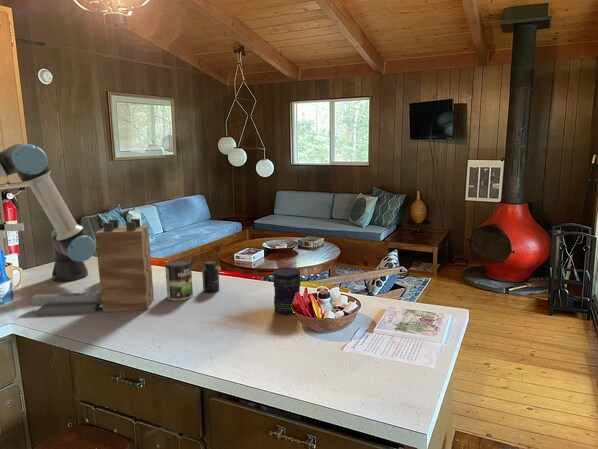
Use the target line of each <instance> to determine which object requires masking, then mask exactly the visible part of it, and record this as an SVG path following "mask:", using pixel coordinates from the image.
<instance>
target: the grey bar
mask: <svg viewBox="0 0 598 449" xmlns="http://www.w3.org/2000/svg"><path fill="white" fill-rule="evenodd" d="M30 298H31V299H30V300H31V306H32V307H33V308H34V307H42V306H63V305H89V304H98V305H101V306H102V298H101V289H99V290H98V291H97V292H96V291H95V292H75V293H74V292H71V293H69V292H67V293H50V294H49V293H45V294H44V293H43V294H41V293H40V294H34V295H33V296H32V297H30Z"/></svg>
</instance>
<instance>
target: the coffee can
mask: <svg viewBox="0 0 598 449" xmlns="http://www.w3.org/2000/svg"><path fill="white" fill-rule="evenodd" d="M164 267H165V282H166V284H165V285H166V294H167V295H166V298H167V299H168V300H171V301H184V300H185V301H186V300H188V299H190V298H192V297H193V296H194V293H193V278H192V277H193V275H192V274H193V273H192V261H191V260H189V259H188V260H187V259H173V260H169V261H167V262H165V263H164Z"/></svg>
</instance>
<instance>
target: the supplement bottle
mask: <svg viewBox="0 0 598 449" xmlns="http://www.w3.org/2000/svg"><path fill="white" fill-rule="evenodd" d="M201 275H202V277H201V278H202V290H203V292H205V293H216V292H218V291H220V270H219V269H218V268H217V262H216V261H212V260H211V261H210V260H209V261H206V262H204V268H203V269H202V274H201Z"/></svg>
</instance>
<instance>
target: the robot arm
mask: <svg viewBox="0 0 598 449" xmlns="http://www.w3.org/2000/svg"><path fill="white" fill-rule="evenodd" d="M51 172H52V170H51V167H50V166H49V164H48V158H47V154H46V152H44V150H43V149H41V148H40V147H39V146H37V145H34V144H31V143H23V144H21V143H20V144H19V143H18V144H13V145H11V146H9V147H8V148H5V149H4V150H2V151H0V177H4V178H6V177H8V176H12V175H14V174H17V176H18V177H19V179H20V182H22V183H23V184H26V185H28V186H29V188H30V190H31V191H32V193H33V195H34V196H35V198H36V200H37V201H38V203H39V206H41V208H42V209H43V211H44V213H45V215H46V217H47V218H48V220H49V221H50V223H51V226H52V227H53V228H54V230H53V231H51V241H52V249H53V257H54V258H53V259H54V264H53V268H52V271H51V278H52V281H55V282H68V281H69V282H70V281H75V280H79V279H83V278H86V277H88V275H89V272H88V267H87V266H86V264H85V262H86V261H87V260H90V259H91V258H92V257H93V255H94V254H95V252H96V250H97V247H96V241H95V240H94V239H93V237H91V236H89V235H88V234H87V232H86V230H85V228H84V226H83V225H81V224H78V223H77V222H76V220H75V218H74V217H73V214H72V213H71V210H70V209H69V207H68V206H67V204H66V203H65V201H64V199H63V197H62V195H61V193H60V192H59V190H58V187H57V186H56V185H55V183H54V181H53V180H52V178H51V176H50V175H51ZM24 231H25V226H24V222H23V223H7V222H6V221H5V222H4V221H3V223H0V239H6V238H7V237H6V235H7V234H6V232H24Z"/></svg>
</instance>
